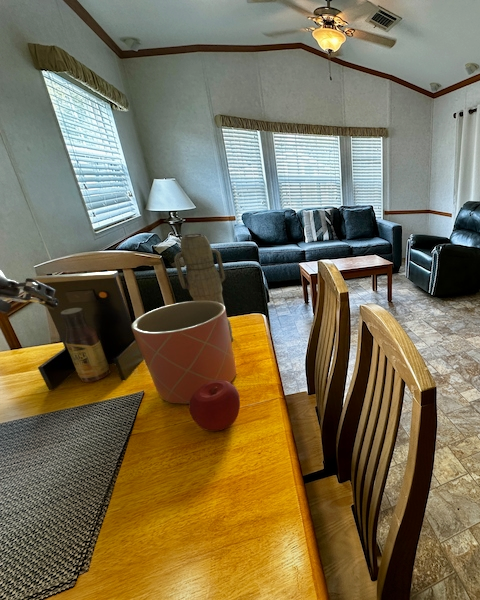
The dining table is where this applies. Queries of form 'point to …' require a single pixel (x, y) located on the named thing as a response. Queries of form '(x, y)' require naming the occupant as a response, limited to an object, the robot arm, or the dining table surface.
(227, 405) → the apple
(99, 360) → the sauce bottle
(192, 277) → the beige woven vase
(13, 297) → the robot arm
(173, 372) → the planter
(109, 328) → the dispenser
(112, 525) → the dining table surface
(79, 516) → the dining table surface
